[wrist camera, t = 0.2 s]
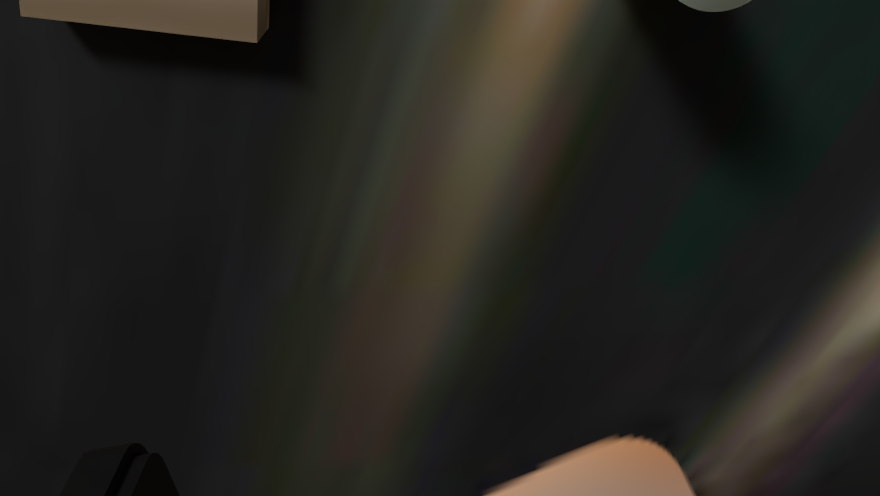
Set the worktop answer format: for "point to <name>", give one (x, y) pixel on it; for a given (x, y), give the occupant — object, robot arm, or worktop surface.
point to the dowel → (714, 4)
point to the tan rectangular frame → (162, 15)
